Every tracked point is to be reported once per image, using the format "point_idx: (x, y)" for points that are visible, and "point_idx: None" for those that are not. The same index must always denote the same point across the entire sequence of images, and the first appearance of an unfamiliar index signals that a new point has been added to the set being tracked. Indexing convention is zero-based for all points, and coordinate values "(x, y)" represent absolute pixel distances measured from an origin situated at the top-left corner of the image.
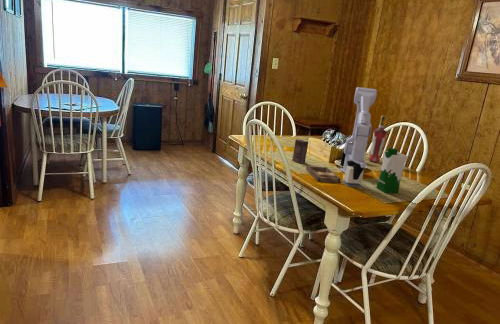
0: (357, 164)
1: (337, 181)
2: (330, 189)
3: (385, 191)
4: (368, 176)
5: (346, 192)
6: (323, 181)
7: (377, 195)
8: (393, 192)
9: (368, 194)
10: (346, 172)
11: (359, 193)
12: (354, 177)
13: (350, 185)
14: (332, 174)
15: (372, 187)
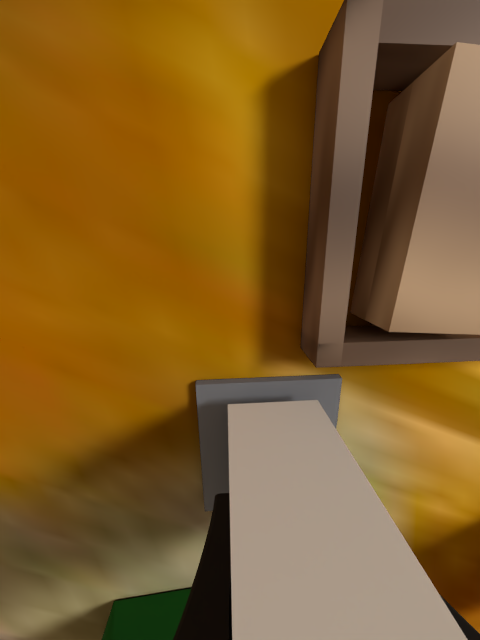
0: None
1: (306, 324)
2: (38, 126)
3: (110, 618)
4: (449, 603)
5: (6, 306)
6: (314, 140)
7: (42, 542)
8: None
9: (37, 489)
10: (334, 492)
11: (32, 426)
12: (209, 526)
13: (212, 417)
14: (438, 301)
15: None
